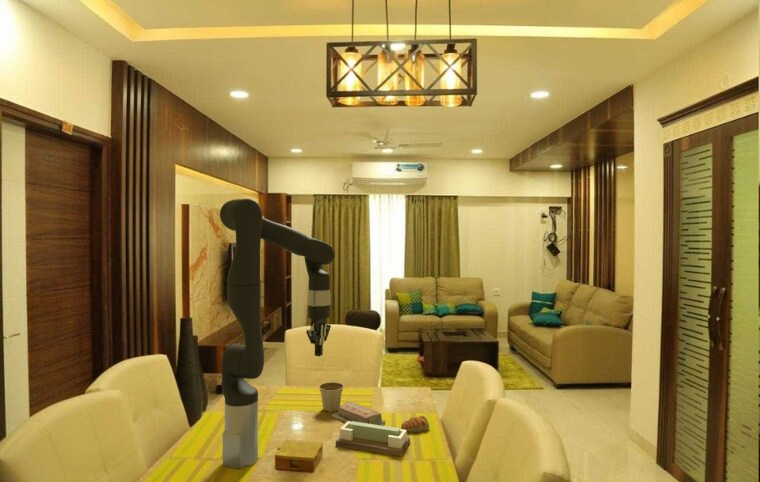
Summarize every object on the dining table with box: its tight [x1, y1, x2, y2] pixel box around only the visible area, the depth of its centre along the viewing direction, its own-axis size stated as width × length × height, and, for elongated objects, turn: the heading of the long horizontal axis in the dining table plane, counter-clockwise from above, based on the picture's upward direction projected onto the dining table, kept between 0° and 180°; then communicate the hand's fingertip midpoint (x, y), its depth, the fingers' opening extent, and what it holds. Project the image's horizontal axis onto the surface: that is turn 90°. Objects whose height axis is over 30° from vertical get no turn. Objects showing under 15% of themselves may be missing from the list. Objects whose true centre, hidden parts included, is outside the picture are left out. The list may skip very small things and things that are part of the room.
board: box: [335, 436, 411, 457], centre depth 143 cm, size 10×21×2 cm, turn 70°
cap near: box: [388, 428, 408, 449], centre depth 140 cm, size 6×4×3 cm, turn 160°
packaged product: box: [331, 401, 386, 426], centre depth 162 cm, size 18×5×10 cm
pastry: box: [400, 415, 430, 434], centre depth 155 cm, size 9×7×4 cm
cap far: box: [339, 421, 353, 440], centre depth 146 cm, size 6×4×3 cm, turn 160°
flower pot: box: [318, 381, 345, 413], centre depth 172 cm, size 9×9×9 cm
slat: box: [349, 421, 401, 443], centre depth 143 cm, size 2×16×4 cm, turn 70°
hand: (318, 355), depth 152 cm, fingers closed
